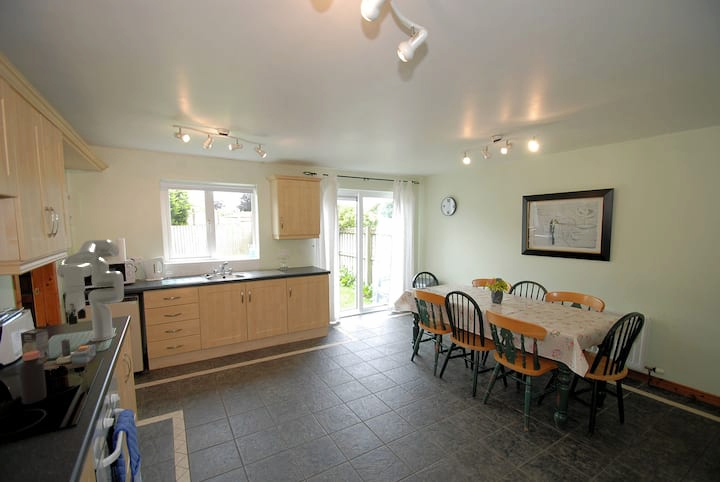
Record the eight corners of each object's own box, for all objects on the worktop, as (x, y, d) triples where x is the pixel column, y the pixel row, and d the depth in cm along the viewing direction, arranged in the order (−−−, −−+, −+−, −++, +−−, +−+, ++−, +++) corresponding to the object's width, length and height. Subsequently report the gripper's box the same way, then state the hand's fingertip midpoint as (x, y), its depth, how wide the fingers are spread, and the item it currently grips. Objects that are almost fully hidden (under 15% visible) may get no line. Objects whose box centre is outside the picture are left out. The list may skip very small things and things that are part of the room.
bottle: (31, 405, 122) (26, 357, 121) (18, 403, 124) (13, 356, 122) (51, 396, 129) (47, 350, 128) (38, 394, 130) (34, 349, 129)
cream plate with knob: (64, 357, 160) (62, 338, 160) (76, 355, 162) (75, 336, 162) (56, 363, 153) (55, 343, 153) (69, 361, 155) (68, 342, 155)
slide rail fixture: (41, 365, 158) (40, 352, 158) (96, 356, 168) (95, 344, 167) (28, 375, 147) (26, 361, 147) (87, 365, 157) (86, 352, 156)
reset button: (81, 351, 161) (80, 346, 161) (89, 350, 163) (88, 345, 163) (78, 354, 158) (78, 348, 158) (86, 353, 160) (86, 347, 160)
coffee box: (22, 362, 162) (19, 333, 161) (36, 357, 169) (33, 328, 168) (37, 362, 161) (34, 333, 160) (50, 357, 168) (48, 329, 167)
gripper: (73, 286, 164) (76, 317, 165) (56, 293, 148) (59, 327, 149) (91, 285, 167) (93, 315, 168) (76, 291, 151) (79, 325, 152)
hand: (77, 321), depth 159 cm, fingers open, 9 cm apart
